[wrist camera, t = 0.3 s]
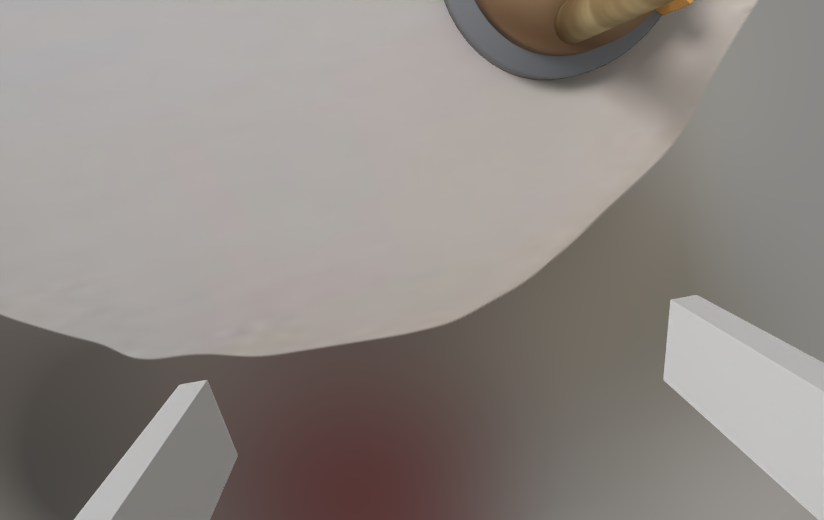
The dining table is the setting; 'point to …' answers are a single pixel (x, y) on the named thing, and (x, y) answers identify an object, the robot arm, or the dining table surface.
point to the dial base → (539, 65)
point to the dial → (565, 22)
